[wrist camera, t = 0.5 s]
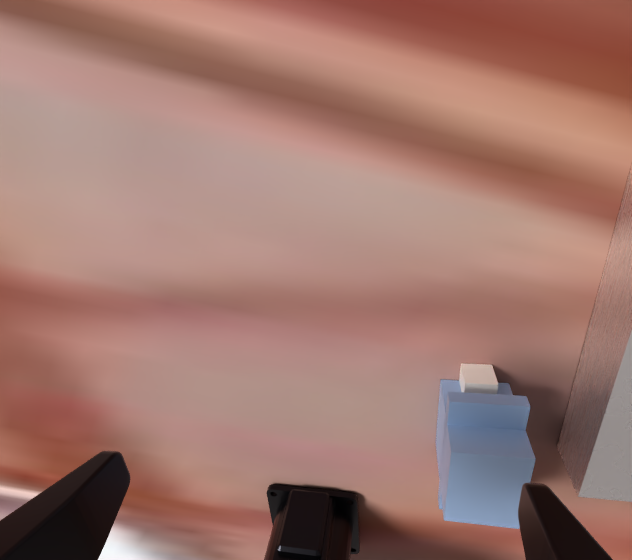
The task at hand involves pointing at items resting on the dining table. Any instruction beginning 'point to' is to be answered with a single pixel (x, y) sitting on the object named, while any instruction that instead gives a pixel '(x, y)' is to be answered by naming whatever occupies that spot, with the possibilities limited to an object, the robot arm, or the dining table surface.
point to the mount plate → (605, 380)
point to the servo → (482, 448)
